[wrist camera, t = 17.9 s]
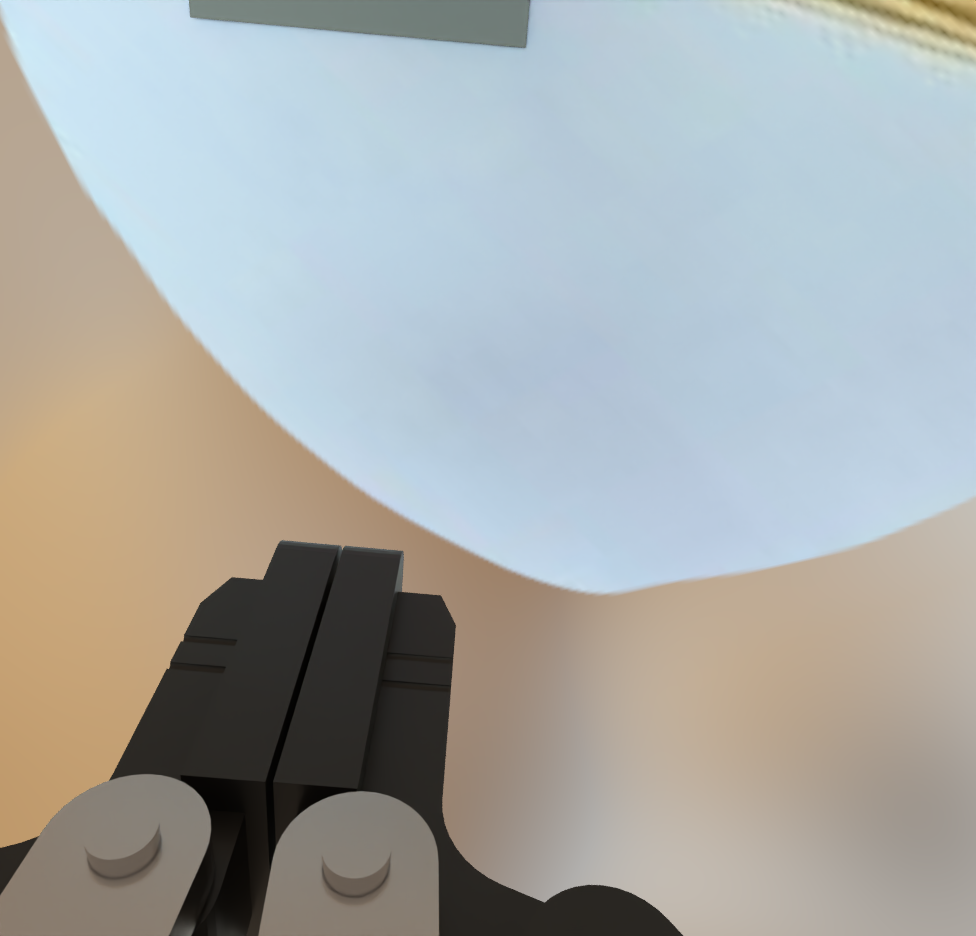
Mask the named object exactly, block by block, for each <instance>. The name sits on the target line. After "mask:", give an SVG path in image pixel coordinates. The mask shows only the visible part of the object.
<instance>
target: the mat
mask: <svg viewBox="0 0 976 936" xmlns="http://www.w3.org/2000/svg"><path fill="white" fill-rule="evenodd" d="M529 3H530V0H189V7H190V17H192V18H203V19H214V20H225V21H236V22H247V23H258V24H270V25H281V26H292V27H303V28H314V29H325V30H336V31H347V32H358V33H369V34H380V35H391V36H402V37H413V38H424V39H435V40H446V41H457V42H468V43H480V44H491V45H502V46H513V47H524V48H525V47H526V36H527V25H528V14H529Z"/></svg>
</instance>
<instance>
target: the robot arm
mask: <svg viewBox="0 0 976 936" xmlns="http://www.w3.org/2000/svg"><path fill="white" fill-rule="evenodd" d="M403 555H404V554H403V551H396V550H386V549H375V548H374V549H373V548H363V547H352V546H345V547H344V548H343V551H342V547H341V546H339V545H327V544H317V543H305V542H294V541H283V540H282V541H280V543H279V544H278V546H277V548H276V550H275V553H274V555H273V557H272V560H271V562H270V564H269V567H268V569H267V572H266V574H265V576H264V579H263V580H256V579H245V578H231V579H229V580H228V581H227V582H226V583H225V584H223V585H222V586H221V587H219V588H218V589H217V590H216V591H215V592H213V593H212V594H211V595H210V596H209V597H208V598H206V599H205V600H204V601H202V602H201V603H200V605H199V607H198V609H197V611H196V613H195V615H194V617H193V619H192V621H191V623H190V625H189V627H188V629H187V631H186V633H185V634H184V641H183V642H180V644H179V646H178V648H177V650H176V652H175V654H174V656H173V658H172V660H171V663H170V668H169V669H167V670H166V672H165V673H164V675H163V678H162V679H161V681H160V683H159V685H158V687H157V689H156V691H155V693H154V695H153V697H152V699H151V701H150V703H149V705H148V707H147V709H146V711H145V713H144V715H143V717H142V718H141V720H140V722H139V724H138V726H137V728H136V730H135V732H134V734H133V736H132V738H131V740H130V742H129V744H128V746H127V748H126V750H125V752H124V754H123V755H122V758H121V759H120V761H119V763H118V765H117V768H116V769H115V771H114V773H113V775H112V777H111V778H110V780H109V781H107V782H104V783H102V784H100V785H97V786H95V787H93V788H91V789H89V790H87V791H85V792H84V793H82V794H80V795H79V796H77V797H76V798H74V799H73V800H72V801H70V802H69V803H68V804H66V805H65V806H64V807H63V808H62V809H61V810H60V811H59V812H58V813H57V814H56V815H55V816H54V817H53V818H52V819H51V820H50V822H49V823H48V824H47V825H46V827H45V828H44V829H43V831H42V832H41V834H40V836H38V837H36V838H33V839H30V840H27V841H25V842H22V843H18V844H15V845H10V846H7V847H3V848H0V936H683V935H682V934H681V933H680V932H679V931H678V930H677V929H676V927H675V926H674V925H673V924H672V923H671V922H670V921H669V920H668V919H667V918H666V917H665V916H664V915H663V914H662V913H661V912H660V911H659V910H657V909H656V908H655V907H653V906H652V905H650V904H649V903H648V902H646V901H645V900H643V899H641V898H639V897H637V896H636V895H633V894H632V893H629V892H626V891H624V890H621V889H618V888H613V887H608V886H601V885H585V886H578V887H573V888H570V889H567V890H564V891H562V892H560V893H558V894H556V895H555V896H553V897H551V898H550V899H549V900H547V901H546V902H545V903H544V902H542V901H539V900H537V899H534V898H532V897H530V896H527V895H525V894H522V893H520V892H518V891H515V890H513V889H511V888H508V887H506V886H503V885H501V884H499V883H497V882H495V881H493V880H491V879H489V878H488V877H486V876H485V875H483V874H482V873H480V872H479V871H477V870H476V869H475V868H474V867H473V866H472V865H471V864H470V863H468V862H467V861H466V860H465V859H464V857H463V856H462V855H461V854H460V852H459V851H458V850H457V849H456V847H455V846H454V844H453V842H452V840H451V838H450V837H449V834H448V832H447V829H446V826H445V824H444V818H443V813H442V795H443V783H444V770H445V756H446V743H447V732H448V719H449V706H450V692H451V679H452V666H453V654H454V641H455V628H456V625H455V623H454V621H453V619H452V617H451V615H450V613H449V611H448V609H447V607H446V605H445V603H444V601H443V599H442V597H441V596H440V595H429V594H418V593H406V592H402V579H403V560H404V556H403Z"/></svg>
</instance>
